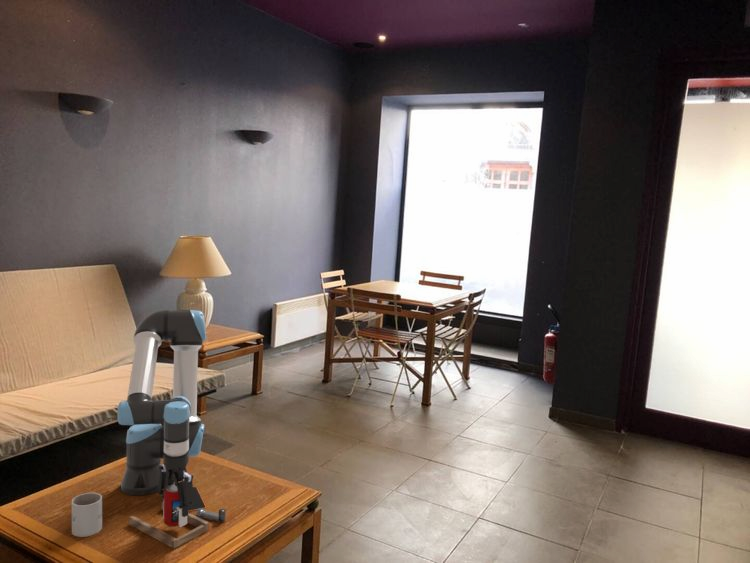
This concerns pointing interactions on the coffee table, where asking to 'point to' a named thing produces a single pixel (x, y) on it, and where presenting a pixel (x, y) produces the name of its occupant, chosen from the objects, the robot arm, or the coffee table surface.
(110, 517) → the coffee table surface
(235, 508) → the coffee table surface
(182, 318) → the robot arm
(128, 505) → the coffee table surface
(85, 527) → the mug
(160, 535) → the bay
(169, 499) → the beverage can
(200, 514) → the crank handle
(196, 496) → the smartphone
